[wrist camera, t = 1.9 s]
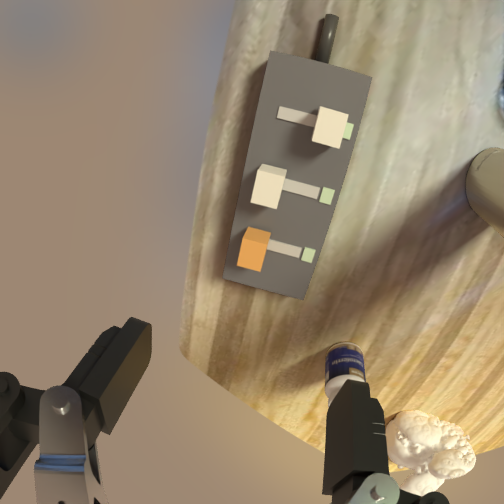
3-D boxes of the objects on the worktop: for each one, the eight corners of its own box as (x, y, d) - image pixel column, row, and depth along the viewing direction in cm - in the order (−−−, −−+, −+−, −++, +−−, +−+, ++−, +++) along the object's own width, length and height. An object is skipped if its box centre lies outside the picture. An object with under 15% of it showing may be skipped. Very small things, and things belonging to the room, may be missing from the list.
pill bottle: (364, 339, 43) (371, 392, 35) (360, 366, 46) (364, 417, 37) (326, 340, 45) (325, 393, 36) (324, 367, 47) (322, 418, 38)
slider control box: (285, 7, 26) (282, -3, 23) (377, 31, 26) (384, 24, 22) (229, 264, 41) (221, 279, 38) (304, 284, 41) (303, 301, 38)
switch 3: (311, 137, 29) (311, 140, 26) (319, 106, 27) (320, 106, 25) (336, 144, 29) (339, 148, 26) (345, 113, 27) (348, 114, 25)
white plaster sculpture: (383, 439, 41) (473, 487, 30) (423, 367, 54) (496, 406, 43) (346, 478, 50) (419, 517, 40) (388, 416, 64) (451, 450, 53)
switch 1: (255, 193, 32) (250, 202, 30) (262, 163, 31) (257, 169, 28) (279, 199, 32) (276, 209, 30) (287, 169, 31) (284, 176, 28)
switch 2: (242, 252, 36) (236, 265, 33) (248, 226, 34) (242, 238, 32) (264, 258, 36) (260, 271, 33) (271, 232, 34) (267, 244, 31)
